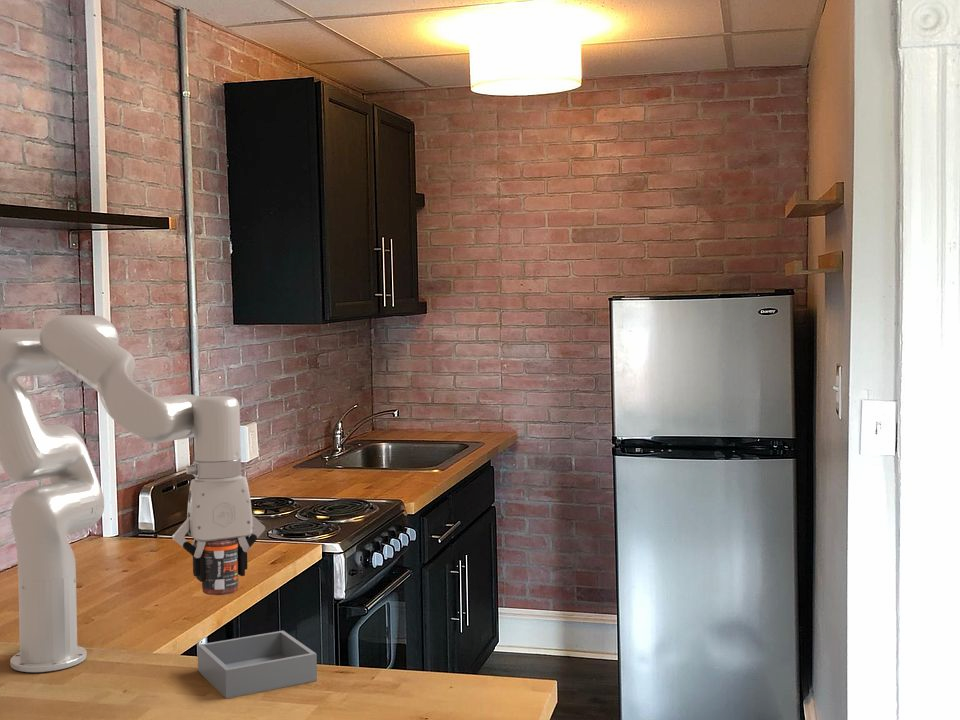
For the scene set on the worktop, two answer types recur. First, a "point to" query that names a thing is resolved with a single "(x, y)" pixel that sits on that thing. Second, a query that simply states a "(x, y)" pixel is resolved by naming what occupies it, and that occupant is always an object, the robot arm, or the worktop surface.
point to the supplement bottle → (220, 567)
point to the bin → (256, 663)
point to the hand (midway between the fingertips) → (220, 576)
